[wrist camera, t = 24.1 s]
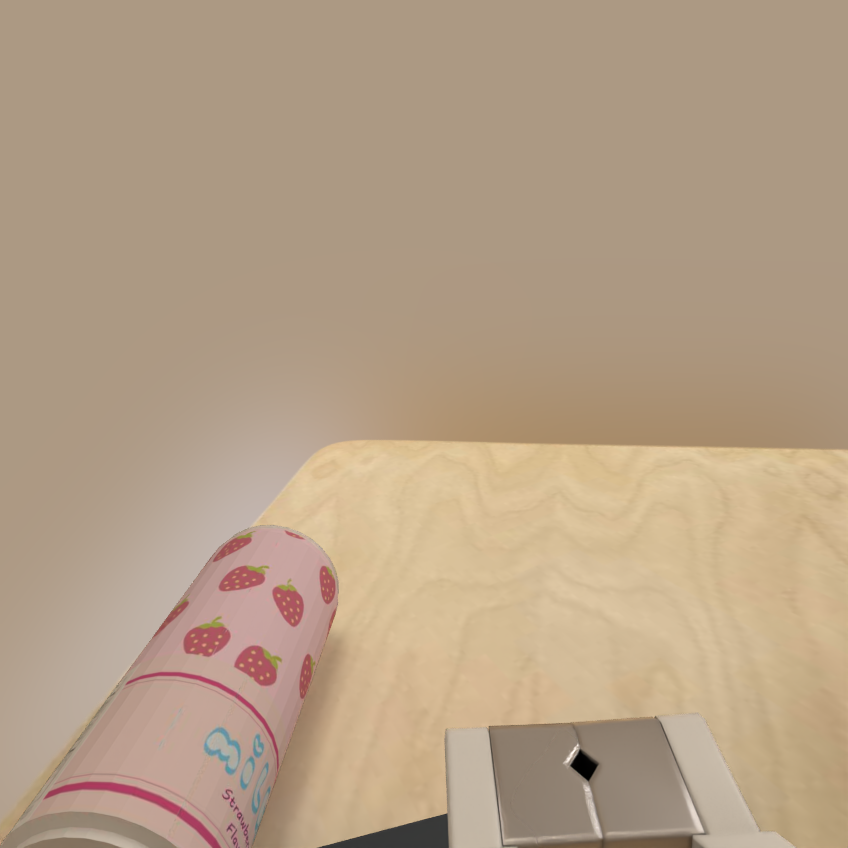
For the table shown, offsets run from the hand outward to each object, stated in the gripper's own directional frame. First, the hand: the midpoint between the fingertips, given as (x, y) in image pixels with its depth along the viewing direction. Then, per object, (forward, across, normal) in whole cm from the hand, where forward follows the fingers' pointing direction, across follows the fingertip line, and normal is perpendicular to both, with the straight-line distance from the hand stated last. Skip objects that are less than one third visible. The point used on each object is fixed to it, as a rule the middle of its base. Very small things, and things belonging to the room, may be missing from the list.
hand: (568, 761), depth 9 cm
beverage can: (+5, +10, +10) cm, 15 cm away
